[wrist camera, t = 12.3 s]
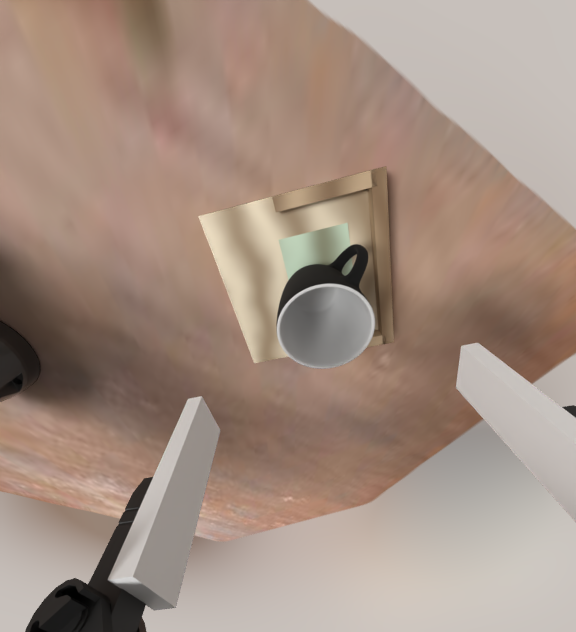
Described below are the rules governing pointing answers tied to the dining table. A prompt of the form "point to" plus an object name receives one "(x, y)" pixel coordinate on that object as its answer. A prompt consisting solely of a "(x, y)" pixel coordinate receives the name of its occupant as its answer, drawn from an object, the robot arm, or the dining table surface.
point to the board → (302, 250)
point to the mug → (326, 313)
